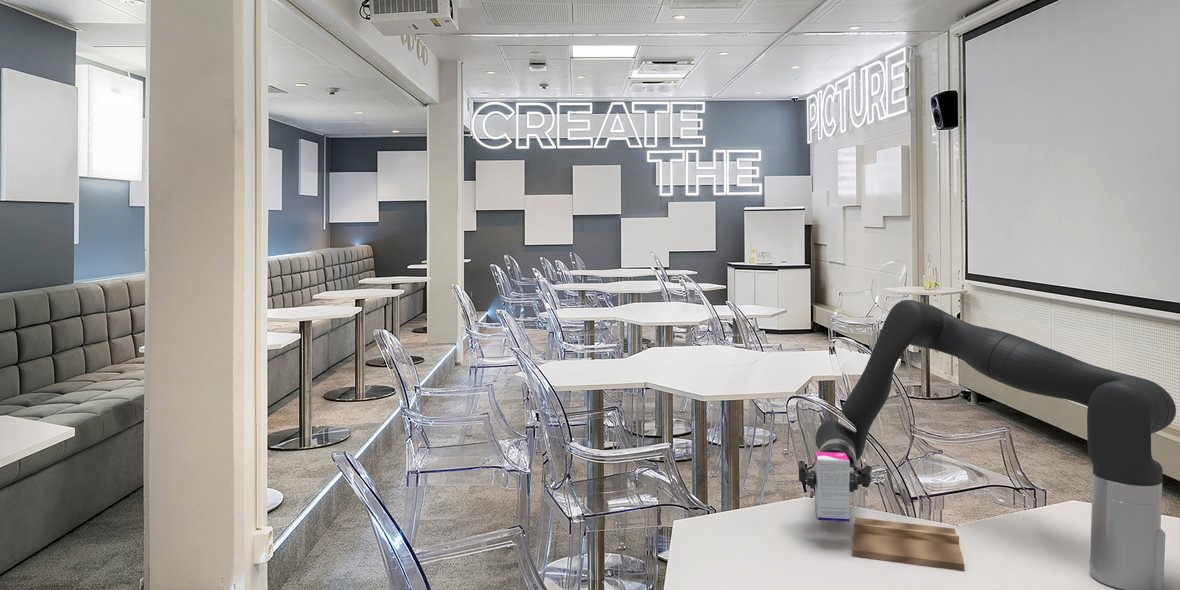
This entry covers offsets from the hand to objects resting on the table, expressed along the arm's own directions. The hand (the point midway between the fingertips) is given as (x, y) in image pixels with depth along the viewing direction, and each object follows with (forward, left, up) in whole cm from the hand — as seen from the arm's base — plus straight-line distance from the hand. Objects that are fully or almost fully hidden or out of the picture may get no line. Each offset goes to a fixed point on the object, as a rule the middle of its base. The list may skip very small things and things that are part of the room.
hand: (831, 485), depth 135 cm
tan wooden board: (-13, -6, -12) cm, 18 cm away
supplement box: (0, -2, -7) cm, 7 cm away
